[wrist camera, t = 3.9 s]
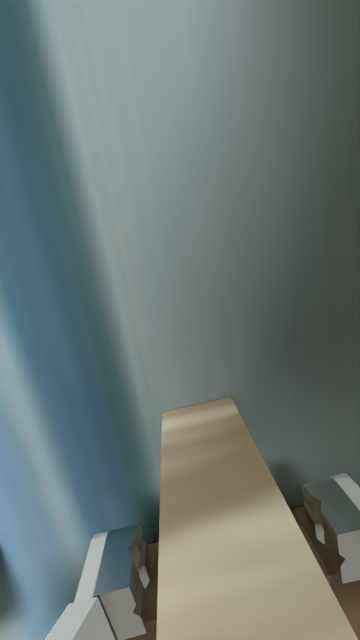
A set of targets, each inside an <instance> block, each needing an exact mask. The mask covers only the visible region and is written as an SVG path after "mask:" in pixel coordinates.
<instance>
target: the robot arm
mask: <svg viewBox="0 0 360 640" xmlns="http://www.w3.org/2000/svg"><path fill="white" fill-rule="evenodd" d="M301 493H302V494H303V496H304V498H305V500H304V502H303V507H304V512H305V515H306V518H307V520H308V523H309V525H310V527H311V529H312V531H313V533H314V535H315V536H316V538H317V539H318V540H319V541H320V542H322V543H323V544H325V549H326V556H327V558H328V559H329V561H330V563H331V565H332V566H333V568H334V570H335V572H336V573H337V575H338V577H339V579H340V580H341V582H342V584H343V583H348V582H353V581H358V580H360V487H359V486H358V485H357V484H356V483H355V482H354V481H353V480H352V479H351V477H350V476H349V475H347V474H345V473H342V474H338V475H334V476H331V477H325V478H321V479H317V480H314V481H310V482H306V483H302V484H301ZM142 533H143V532H142V529H141V526H140V524H139V525H135V526H130V527H125V528H121V529H116V530H111V531H107V532H102V533H98V534H95V535H94V536H93V538H92V540H91V542H90V546H89V550H88V553H87V557H86V560H85V564H84V567H83V571H82V575H81V578H80V582H79V585H78V589H77V592H76V596H75V599H74V602H73V603H70V604H68V606H67V607H66V609H65V610H64V611H63V613H62V614H61V616H60V617H59V619H58V620H57V622H56V623H55V625H54V626H53V628H52V629H51V631H50V632H49V633H48V635H47V636H46V638H45V639H44V640H125V639H128V638H132V637H135V636H139V635H142V634H145V633H147V617H148V597H147V595H146V592H145V588H146V586H147V585H148V583H149V581H150V559H149V551H148V547H147V543H146V542H145V541H144V540H142Z"/></svg>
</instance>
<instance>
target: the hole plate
mask: <svg viewBox="0 0 360 640" xmlns="http://www.w3.org/2000/svg"><path fill="white" fill-rule="evenodd" d="M290 510H291V512H292V514H293V516H294V518H295V520H296V522H297V524H298V526H299V528H300V530H301V531H302V533H303V535H304V537H305V539H306V541H307V543H308V545H309V547H310V549H311V551H312V552H313V554H314V556H315V558H316V560H317V562H318V564H319V566H320V568H321V570H322V572H323V573H324V575H325V577H326V579H327V581H328V583H329V585H330V587H331V589H332V591H333V593H334V595H335V596H336V598H337V600H338V602H339V604H340V606H341V608H342V610H343V612H344V614H345V616H346V617H347V619H348V621H349V623H350V625H351V627H352V629H353V631H354V633H355V635H356V637H357V638H358V640H360V580H358V581H353V582H348V583H343V584H342V582H341V580H340V579H339V577H338V575H337V573H336V572H335V570H334V568H333V566H332V565H331V563H330V561H329V559H328V558H327V556H326V549H325V544H323V543H322V542H320V541H319V540H318V539H317V538H316V536H315V535H314V533H313V531H312V529H311V527H310V525H309V523H308V520H307V518H306V515H305V512H304V507H303V506H301V507H297V508H293V509H290ZM147 547H148V551H149V559H150V581H149V583H148V585H147V586H146V588H145V592H146V595H147V597H148V617H147V633H145V634H142V635H139V636H135V637H132V638H128V639H125V640H156V634H157V595H158V556H159V542H156V543H151V544H147Z"/></svg>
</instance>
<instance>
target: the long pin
mask: <svg viewBox="0 0 360 640" xmlns="http://www.w3.org/2000/svg"><path fill="white" fill-rule="evenodd" d="M156 640H358V638H357V637H356V635H355V633H354V631H353V629H352V627H351V625H350V623H349V621H348V619H347V617H346V616H345V614H344V612H343V610H342V608H341V606H340V604H339V602H338V600H337V598H336V596H335V595H334V593H333V591H332V589H331V587H330V585H329V583H328V581H327V579H326V577H325V575H324V573H323V572H322V570H321V568H320V566H319V564H318V562H317V560H316V558H315V556H314V554H313V552H312V551H311V549H310V547H309V545H308V543H307V541H306V539H305V537H304V535H303V533H302V531H301V530H300V528H299V526H298V524H297V522H296V520H295V518H294V516H293V514H292V512H291V510H290V509H289V507H288V505H287V503H286V501H285V499H284V497H283V495H282V493H281V491H280V489H279V488H278V486H277V484H276V482H275V480H274V478H273V476H272V474H271V472H270V470H269V468H268V467H267V465H266V463H265V461H264V459H263V457H262V455H261V453H260V451H259V449H258V447H257V445H256V444H255V442H254V440H253V438H252V436H251V434H250V432H249V430H248V428H247V426H246V424H245V423H244V421H243V419H242V417H241V415H240V413H239V411H238V409H237V407H236V405H235V403H234V402H233V400H232V398H231V396H230V397H226V398H222V399H218V400H214V401H209V402H205V403H201V404H197V405H193V406H189V407H184V408H180V409H176V410H172V411H168V412H164V413H162V438H161V477H160V517H159V556H158V595H157V634H156Z"/></svg>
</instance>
